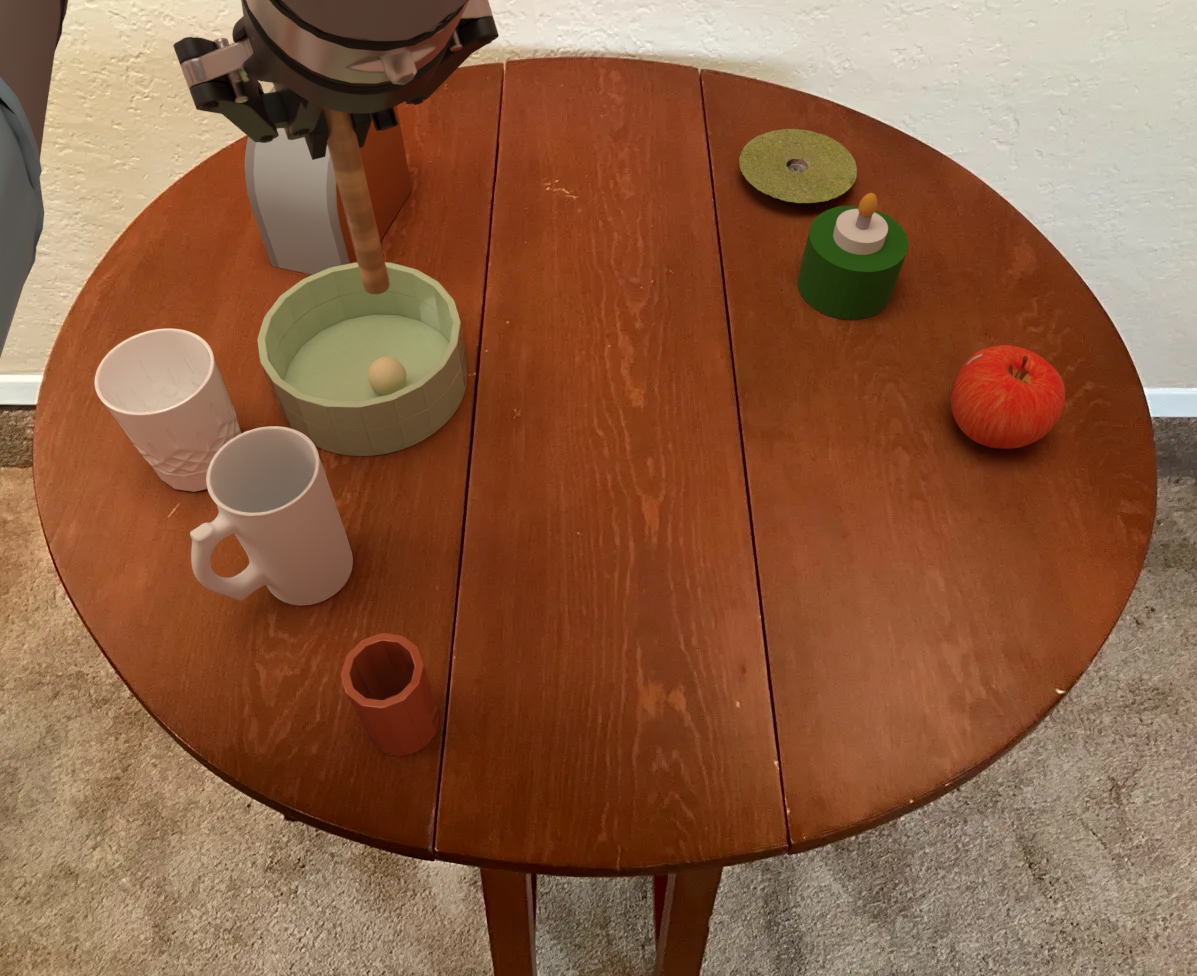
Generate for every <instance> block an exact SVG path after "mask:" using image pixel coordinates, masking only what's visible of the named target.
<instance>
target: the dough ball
mask: <svg viewBox="0 0 1197 976" xmlns="http://www.w3.org/2000/svg"><path fill="white" fill-rule="evenodd" d="M368 381H369V384H370V385H371V387H372V388H373V389H374V390H375V391H376V392H378V393H380V394H383V395H390V394H392V393H394V392H396V391H399V390H401V389H402V388H403V387H404V385H405V383H406V371H405V368H404V366H403V365H402V364H401V363H400V362H399V361H398V360H396V359H394V358H391V357H382V358H379V359H377V360H375V361H374V362H373V363H372V364H371V366H370V368H369V370H368Z"/></svg>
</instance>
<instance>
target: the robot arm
mask: <svg viewBox="0 0 1197 976" xmlns="http://www.w3.org/2000/svg"><path fill="white" fill-rule="evenodd" d="M240 2H241V9H242V16H241V18H239V19H238V20H237V21H236V22H235V24H234V26H233V28H232V32H231V34H232V35H231V36H232V41H233V42H232V43H230V42H229V39H228V38H226V37H219V38H216V39H215V40H210V39H207V38H204V37H198V36H195V37H193V36H186V37H183V38H181V39H180V40H178V41H176V42H175V43H174V44H173V49H174V53H175V54H176V57H177V60H178V63H179V65H180V69H181V71H182V74H183V77H184V80H185V81H186V85H187V87H188V90H189V93H190V95H191V99H192V101H193V104H194V107H195V109H196V110H197V111H201V112H207V113H214V114H220V115H222V116H223V117H224V118H226V119H227V120H228V121H230V123H232V124H233V125H234V126H235V127H237V128H238V129H239V130H240V131H241V132H242V133H244V134H245V135H246V136H247V137H248V136H249V137H250V138H251V139H252V140H253V141H254V142H261V143H268V142H271V141H273V139H274V138H277V137H278V136H279V134H278V131H277V129H278V128H284V130H285V133H286V135H287V138H288V139H289V140H295V139H299V138H303V137H305V140H306V143H307V146H308V149H309V152H310V155H311V158H312V160H314V159H318V158H322V157H325V155H326V148H327V140H328V135H329V130H328V127H327V124H326V121H325V118H324V115H323V112H322V109H323V107H324V108H327V109H331V110H334V111H339V112H345V113H351V115H352V119H353V124H354V128H355V132H356V136H357V140H358V145H359V148H361V147H364V144H365V140H366V137H367V134H368V131H369V128H370V125H371V122H372V120H373V123H374V126H375V129H376V131H382V130H387V129H390V128H393V127H395V126H397V125H398V121H397V118H396V115H395V112H394V106H397V107H398V106H399V105H401V104H403V103H404V102H405V104H406V105H415V106H417V105H421V104H423V103H424V102H425V101H426V100H428V99H429V98H430V97H431V96H432V95H433V94H434V93H435V92H436V91H437V90H438V89H439V88H440V87H441V86H442V85H443V84H444V83H445V82H446V81H447V79H449V77H451V76H452V75H453V73H454V72H455V71H456V70H457V69H459V67H460V66H461V65H462V64H463V63H464V62H465V61H466V60H467V59H468V58H469V57H470V56H471V55H473V53H475V52H477V51H478V50H481V49H482V48H484V47H485V46H488V45H489V44H491V43H492V42H493V41H495V40H497V39H498V38H499V32H498V27H497V25H496V21H495V19H494V15H493V12H492V7H491V5H490V1H489V0H240ZM68 4H69V0H0V358H1V357H2V354H3V351H4V347H5V345H6V342H7V338H8V335H9V332H10V329H11V326H12V322H13V319H14V317H15V314H16V311H17V307H18V304H19V301H20V298H21V295H22V292H23V289H24V286H25V284H26V282H27V279H28V277H29V275H30V273H31V271H32V269H33V266H34V264H35V263H36V256H37V247H38V243H39V242H40V238H41V235H42V233H43V230H44V222H45V221H44V219H45V207H44V200H43V193H42V192H43V191H42V184H41V175H42V171H43V169H42V165H41V164H42V163H41V156H42V155H41V153H42V148H43V147H42V145H43V139H44V130H45V123H46V116H47V110H48V109H47V108H48V102H49V94H50V89H51V81H52V74H53V69H54V68H53V67H54V62H55V61H54V60H55V55H56V54H55V53H56V50H57V48H58V45H59V43H60V40H61V37H62V35H63V24H64V20H65V18H66V16H67V10H68ZM261 82H264V83H271V84H272V85H273V86H274V88H275V91H276V92H271V93H269V92H264V89H263V86H262V83H261Z"/></svg>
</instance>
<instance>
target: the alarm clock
mask: <svg viewBox="0 0 1197 976" xmlns="http://www.w3.org/2000/svg"><path fill="white" fill-rule="evenodd" d="M271 92H276V91H275V88H274V85H273V86H272V88H271V89H270V90H269V91H268V93H271ZM394 112H395V115H396V118H397V121H398V125H397V126H395V127H393V128H390V129H387V130H382V131H376V129H375V126H374V123H373V120H372V122H371V125H370V128H369V131H368V134H367V137H366V140H365V144H364V147H361V148H359V149H360V154H361V158H362V162H363V167H364V171H365V176H366V180H367V185H368V189H369V194H370V198H371V202H372V207H373V211H374V216H375V220H376V225H377V229H378V234H379V238H380V242H381V241H382V239H383V237H384V236H385V235H386V233H387V231H388V229H389V228H390V226H391V225H392V223H393V222H394V219H395V218H396V217H397V215H398V213H399V212H400V210H401V209H402V207H403V205H404V203H405V201H406V200H407V198H408V197H409V195H410V193H411V190H412V182H411V176H410V172H409V171H410V170H409V167H408V166H409V165H408V160H407V159H408V158H407V154H406V148H405V143H404V138H403V131H402V126H401V120H400V116H399V110H398V105H397V106H394ZM277 131H278V134H279V136H278V137H277V138H274V139H273V141H271V142H268V143H261V142H254V141H253V140H252V139H251V138H250V137H249V136H247V141H246V145H245V155H244V156H245V157H244V176H245V188H246V193H247V197H248V201H249V205H250V210H251V212H252V215H253V218H254V220H255V223H256V226H257V229H258V231H259V235H260V237H261V241H262V243H263V245H264V249H265V252H266V255H267V257H268V260H269V263H270V265H271V266H272V267H274V268H279V269H283V270H288V271H293V272H298V273H302V274H306V275H310V276H311V275H314V274H316V273H318V272H321V271H323V270H326V269H328V268H331V267H335V266H340V265H345V264H351V263H356V262H357V259H356V255H355V251H354V247H353V243H352V239H351V235H350V231H349V228H348V224H347V220H346V216H345V212H344V208H343V204H342V200H341V196H340V192H339V188H338V184H337V181H336V177H335V173H334V169H333V165H332V161H331V157H330V153H329V149H328V145H327V148H326V155H325V157H322V158H318V159H314V160H312V158H311V155H310V152H309V149H308V146H307V143H306V140H305V137H303V138H299V139H295V140H289V139H288V138H287V135H286V133H285V130H284V128H278V129H277Z"/></svg>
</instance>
